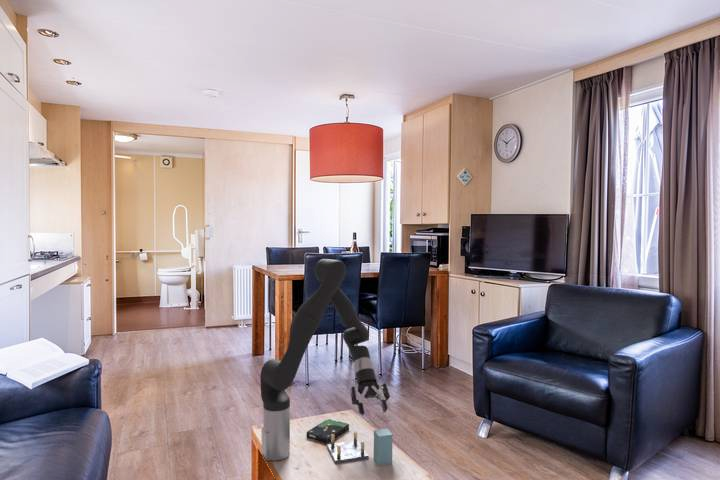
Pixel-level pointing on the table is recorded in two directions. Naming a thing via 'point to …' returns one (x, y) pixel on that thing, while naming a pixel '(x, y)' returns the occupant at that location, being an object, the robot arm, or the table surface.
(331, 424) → the disk drive
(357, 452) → the chassis plate
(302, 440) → the table surface
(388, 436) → the teal block
